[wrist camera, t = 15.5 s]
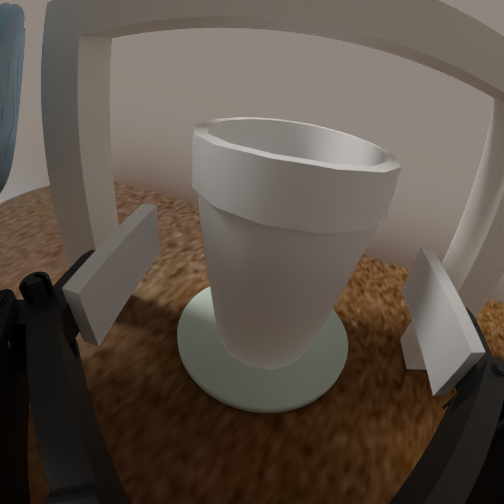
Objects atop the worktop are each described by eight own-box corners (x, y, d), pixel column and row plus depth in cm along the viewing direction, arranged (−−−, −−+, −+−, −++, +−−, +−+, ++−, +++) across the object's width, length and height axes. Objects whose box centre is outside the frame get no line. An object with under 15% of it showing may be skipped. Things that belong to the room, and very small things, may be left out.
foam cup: (175, 307, 21) (166, 120, 13) (278, 274, 25) (304, 119, 18) (242, 416, 14) (282, 182, 7) (356, 350, 19) (433, 170, 12)
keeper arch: (55, 351, 16) (-13, 2, 4) (125, 257, 26) (116, 12, 14) (448, 418, 14) (615, 99, 2) (416, 306, 24) (494, 71, 12)
